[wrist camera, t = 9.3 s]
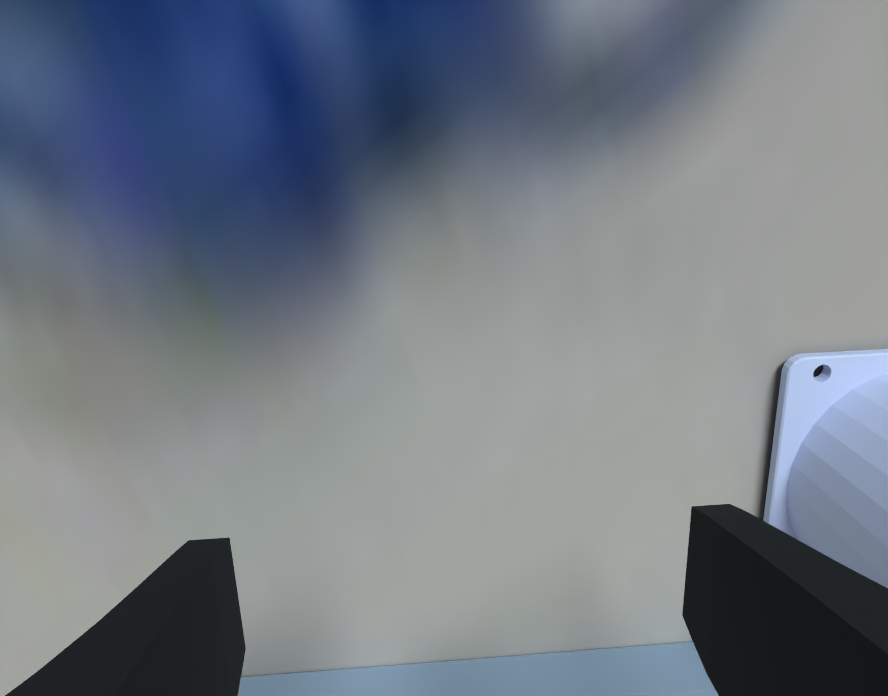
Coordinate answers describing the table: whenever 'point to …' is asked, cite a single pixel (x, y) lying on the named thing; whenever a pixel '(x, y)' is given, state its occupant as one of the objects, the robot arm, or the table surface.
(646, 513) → the table surface
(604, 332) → the table surface
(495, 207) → the table surface
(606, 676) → the control panel
